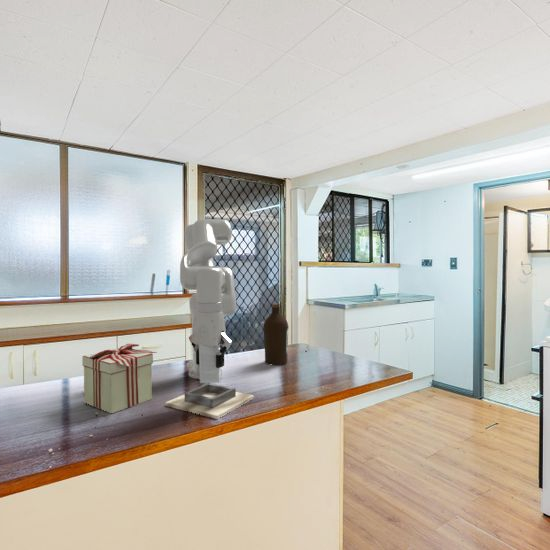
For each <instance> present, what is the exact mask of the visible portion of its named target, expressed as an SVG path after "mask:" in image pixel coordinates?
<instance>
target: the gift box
mask: <svg viewBox="0 0 550 550" xmlns="http://www.w3.org/2000/svg"><path fill="white" fill-rule="evenodd" d="M139 346H140V344H137V343H127V344H125V345H121V346H120V347H118V348H114V349H104V350H102V351H99V352H93V353H90V354H86V355H82V359H81V361H82V366H83V392H84V393H83V397H84V399H83V401H84V402H85V403H84V404H86V403H87V404H86V405H88V404H90V405H92V406H91V407H93V406H94V407H93V408H95V407H96V408H95V409H98V408H99V409H98V410H100V409H102V410H101V411H103V410H104V411H103V412H105V411H107V412H106V413H108V412H109V413H108V414H110V413H112V414H115V413H118V412H121V411H123V409H124V410H126V409H125V408H127V409H129V408H132V407H134V405H135V406H138V405H140V404H143V403H145V401H146V402H148V401H150V400H151V401H152V397H153V395H152V394H153V393H152V392H153V391H152V389H153V388H152V387H153V386H152V383H153V382H152V379H153V378H152V377H153V374H152V372H153V371H152V369H153V368H152V366H153V365H152V364H154V354H155V353H157V351H151V350H148V349H135V347H139ZM142 402H143V403H142ZM139 403H140V404H139ZM137 404H138V405H137ZM90 405H89V406H90ZM131 406H132V407H131ZM120 410H121V411H120ZM117 411H118V412H117ZM114 412H115V413H114Z"/></svg>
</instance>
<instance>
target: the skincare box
mask: <svg viewBox="0 0 550 550" xmlns="http://www.w3.org/2000/svg"><path fill="white" fill-rule="evenodd" d="M219 348H220V346H219ZM220 349H221V348H220ZM216 355H218V354H217V351H216V349H215V347H209V346H204V345H202V344H199V368H200V379H199V383H200V384H207V383H211V384H214V383H215V384H217V383H220V381H221V377H222V375H221V370H222V369H221V367H220V368H216ZM220 369H221V370H220Z"/></svg>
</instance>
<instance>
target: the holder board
mask: <svg viewBox="0 0 550 550" xmlns="http://www.w3.org/2000/svg"><path fill="white" fill-rule="evenodd" d="M236 390H237V389H236V388H233V387H230V386H224V385H220V384H216V383H215V384H214V383H204V384H203V385H200V386H198V387H195V388H193V389H192V390H189V391H187V392H184V394H182V395H179V396H177V397H175V398H173V399H171V400H168V401H166V402H165V407H169V408H173V409H177V410H180V411H185V412H187V411H188V413H191V412H192V414H195V413H196V415H199V414H200V415H199V416H202V417H207V418H210V417H211V418H212V419H214V420H219V419H221V418H222V416H223V417H224V416H226V415H228V414H230V413H231V412H233V411H235V410H237V409H239V408H241V407H242V406H243V404H244V405H245V404H247V403H248V402H251V401H252V400H254V399H255V396H254V395H253V394H249V393H243V392H240V391H236ZM250 400H251V401H250ZM241 405H242V406H241ZM236 408H237V409H236ZM229 412H230V413H229ZM227 413H228V414H227ZM220 417H221V418H220ZM211 418H210V419H211Z"/></svg>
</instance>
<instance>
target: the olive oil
mask: <svg viewBox="0 0 550 550" xmlns="http://www.w3.org/2000/svg"><path fill="white" fill-rule="evenodd" d="M271 305H272V306H271V313H270V314H269V316H267V318H265V320H264V323H263V339H264V340H263V341H264V342H263V343H264V362H266V363H268V364H267V365H269V364H272V365H271V366H281V365H280V364H283V365H286V364H287V363H288V351H289V350H288V349H289V348H288V347H289V346H288V345H289V323H288V321H287V319H286V318H285V317H284V316H283V315H282V313H281V312H280V311H281V310H280V309H281V308H280V303H272V304H271ZM266 363H265V364H266ZM285 363H286V364H285Z"/></svg>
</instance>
